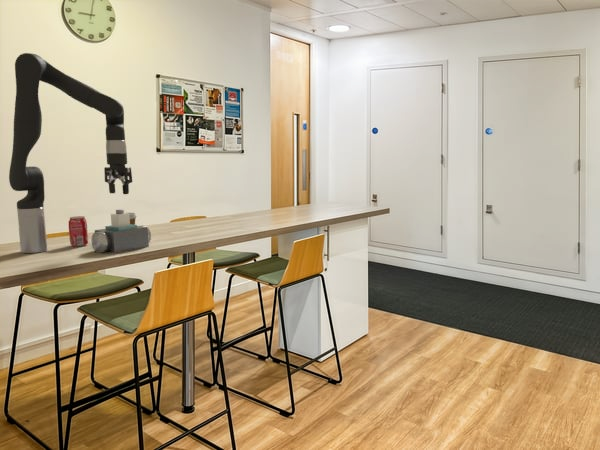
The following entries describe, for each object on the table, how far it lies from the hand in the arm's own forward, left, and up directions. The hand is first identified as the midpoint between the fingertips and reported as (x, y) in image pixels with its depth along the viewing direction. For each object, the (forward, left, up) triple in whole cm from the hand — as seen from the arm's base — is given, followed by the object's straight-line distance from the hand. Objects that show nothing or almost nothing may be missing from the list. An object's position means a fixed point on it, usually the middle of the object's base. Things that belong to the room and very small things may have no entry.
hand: (119, 193), depth 202 cm
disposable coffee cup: (-14, +12, -22) cm, 29 cm away
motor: (0, 0, -22) cm, 22 cm away
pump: (0, 0, -14) cm, 14 cm away
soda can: (-22, -5, -22) cm, 32 cm away
